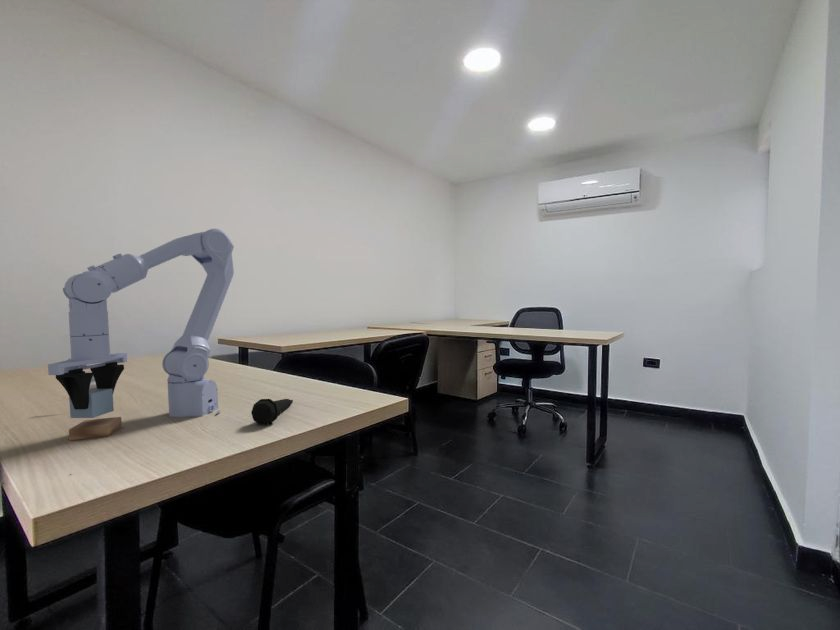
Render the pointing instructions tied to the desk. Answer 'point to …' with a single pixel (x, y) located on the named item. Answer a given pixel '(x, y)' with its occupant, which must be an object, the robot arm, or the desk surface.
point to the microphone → (268, 410)
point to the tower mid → (95, 428)
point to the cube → (95, 404)
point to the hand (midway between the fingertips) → (93, 405)
